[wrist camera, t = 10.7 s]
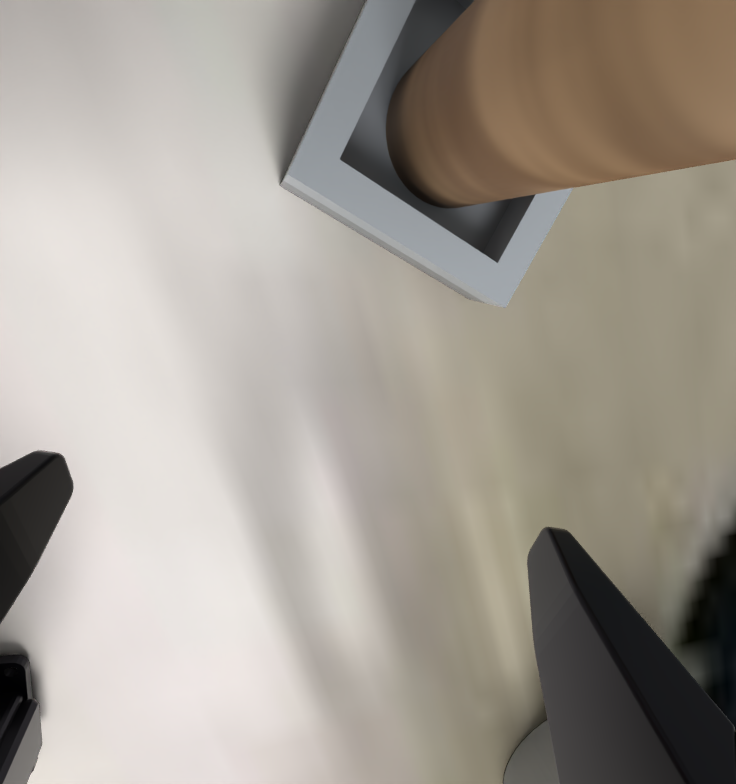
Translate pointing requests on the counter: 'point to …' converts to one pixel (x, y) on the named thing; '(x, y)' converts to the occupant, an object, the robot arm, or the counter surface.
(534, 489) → the counter surface
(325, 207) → the socket base
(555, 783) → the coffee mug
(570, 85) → the tan round-ended cylinder
